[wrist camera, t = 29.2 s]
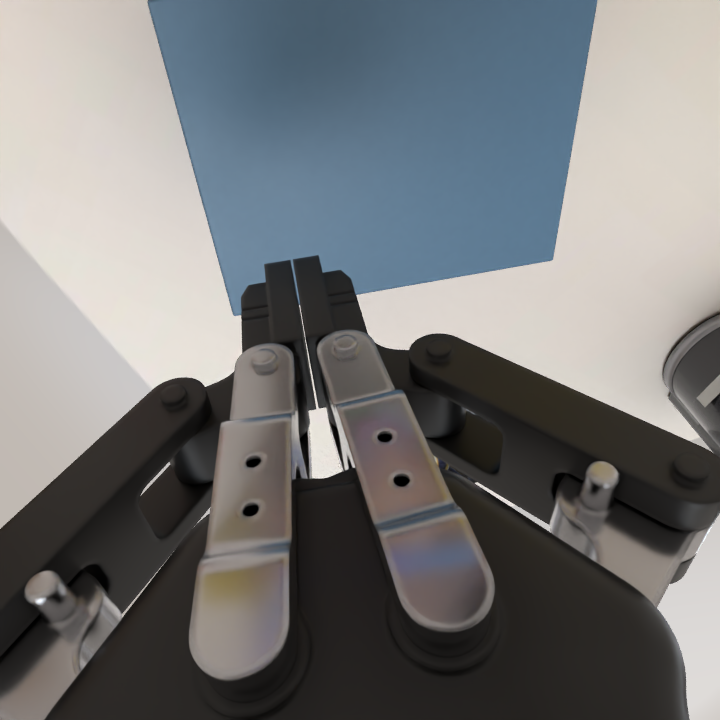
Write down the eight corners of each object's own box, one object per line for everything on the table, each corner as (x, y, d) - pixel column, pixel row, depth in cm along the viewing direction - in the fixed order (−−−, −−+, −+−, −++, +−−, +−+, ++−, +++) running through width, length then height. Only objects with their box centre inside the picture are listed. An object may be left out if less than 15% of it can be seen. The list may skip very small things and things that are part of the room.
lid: (233, 306, 25) (233, 316, 24) (148, -5, 17) (146, 0, 17) (545, 251, 26) (553, 260, 26) (595, -58, 19) (607, -55, 18)
